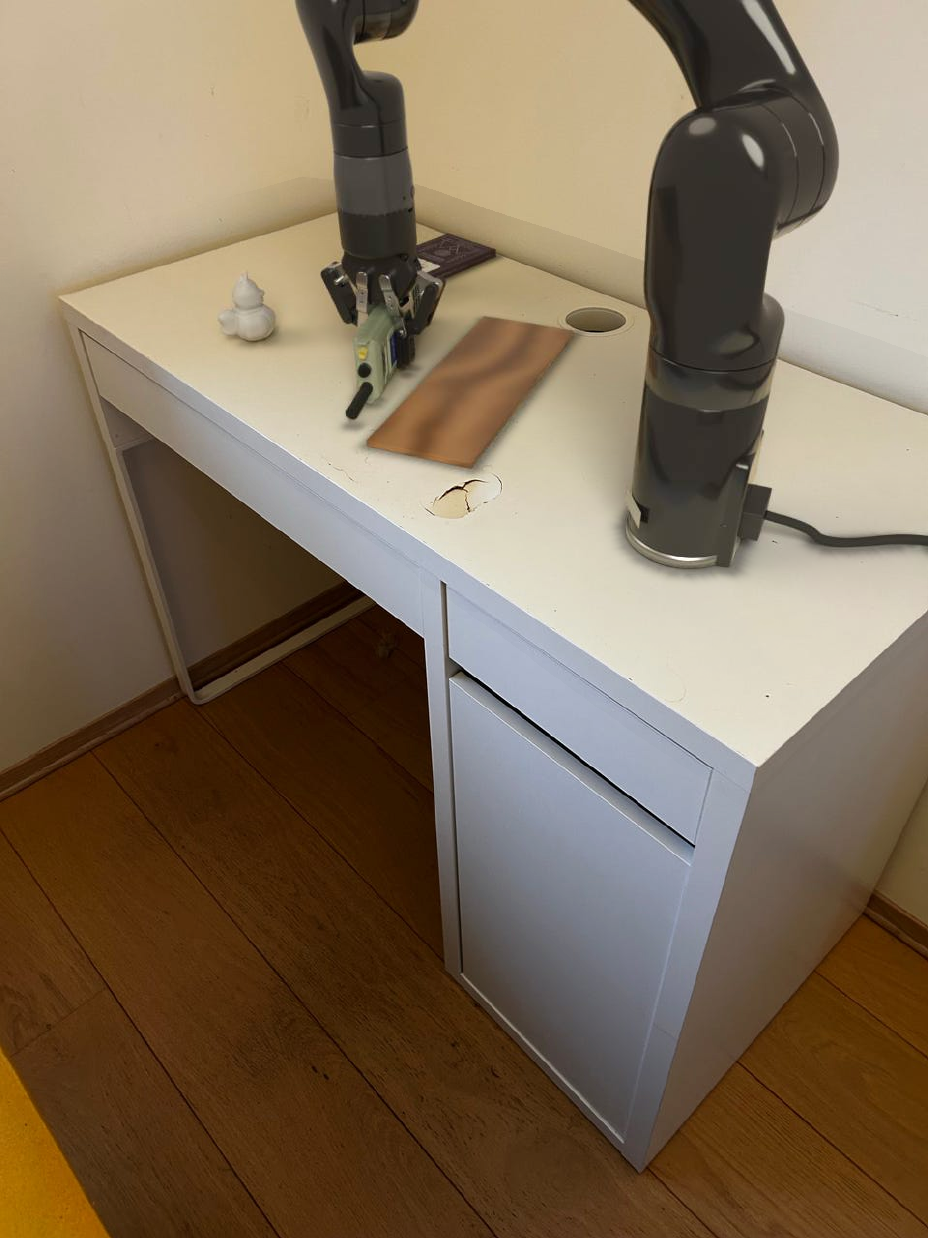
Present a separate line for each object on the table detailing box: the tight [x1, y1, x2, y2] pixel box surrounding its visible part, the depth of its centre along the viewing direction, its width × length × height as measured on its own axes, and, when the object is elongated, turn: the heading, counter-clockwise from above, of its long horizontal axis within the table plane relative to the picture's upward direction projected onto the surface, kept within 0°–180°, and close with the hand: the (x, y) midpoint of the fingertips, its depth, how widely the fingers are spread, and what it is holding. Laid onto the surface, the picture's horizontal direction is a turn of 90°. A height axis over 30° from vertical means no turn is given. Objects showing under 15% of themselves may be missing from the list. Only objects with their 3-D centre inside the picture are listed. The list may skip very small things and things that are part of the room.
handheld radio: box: [345, 282, 422, 421], centre depth 101 cm, size 7×3×25 cm
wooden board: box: [365, 315, 574, 469], centre depth 100 cm, size 11×30×1 cm, turn 157°
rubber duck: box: [216, 269, 277, 342], centre depth 107 cm, size 5×7×8 cm
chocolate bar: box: [416, 232, 497, 279], centre depth 124 cm, size 9×1×18 cm
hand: (390, 363), depth 103 cm, fingers closed on handheld radio, 3 cm apart
